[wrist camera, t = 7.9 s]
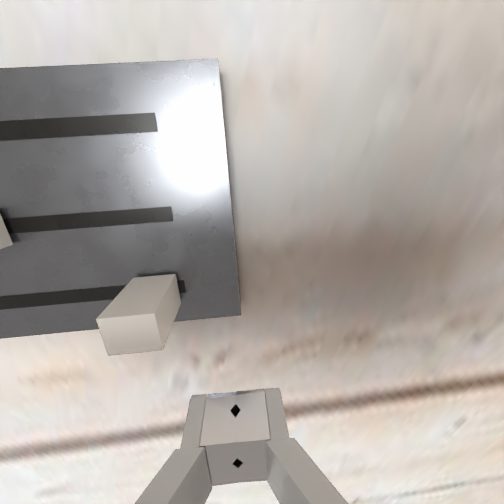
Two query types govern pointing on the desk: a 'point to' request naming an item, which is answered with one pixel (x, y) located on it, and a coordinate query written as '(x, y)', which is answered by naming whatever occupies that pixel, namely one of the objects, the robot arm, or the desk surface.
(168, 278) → the block
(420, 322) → the desk surface
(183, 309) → the grey slider panel
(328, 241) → the desk surface
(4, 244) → the block
